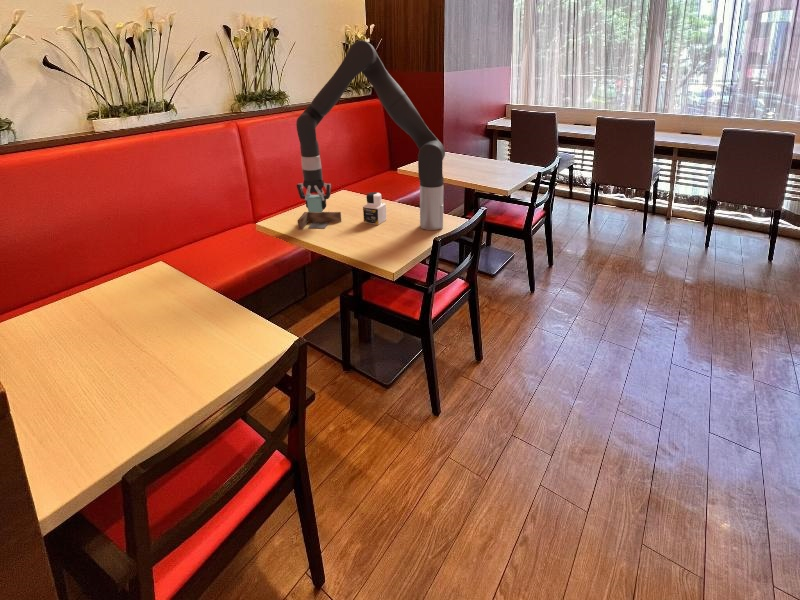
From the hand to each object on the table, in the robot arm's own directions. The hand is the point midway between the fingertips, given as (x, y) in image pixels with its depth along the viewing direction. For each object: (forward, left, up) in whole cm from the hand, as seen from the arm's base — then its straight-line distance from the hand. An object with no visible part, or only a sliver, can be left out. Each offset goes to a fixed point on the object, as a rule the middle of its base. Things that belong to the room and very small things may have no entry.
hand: (316, 208), depth 198 cm
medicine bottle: (-23, -6, -7) cm, 25 cm away
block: (0, 0, -1) cm, 1 cm away
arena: (-1, 0, -7) cm, 7 cm away
